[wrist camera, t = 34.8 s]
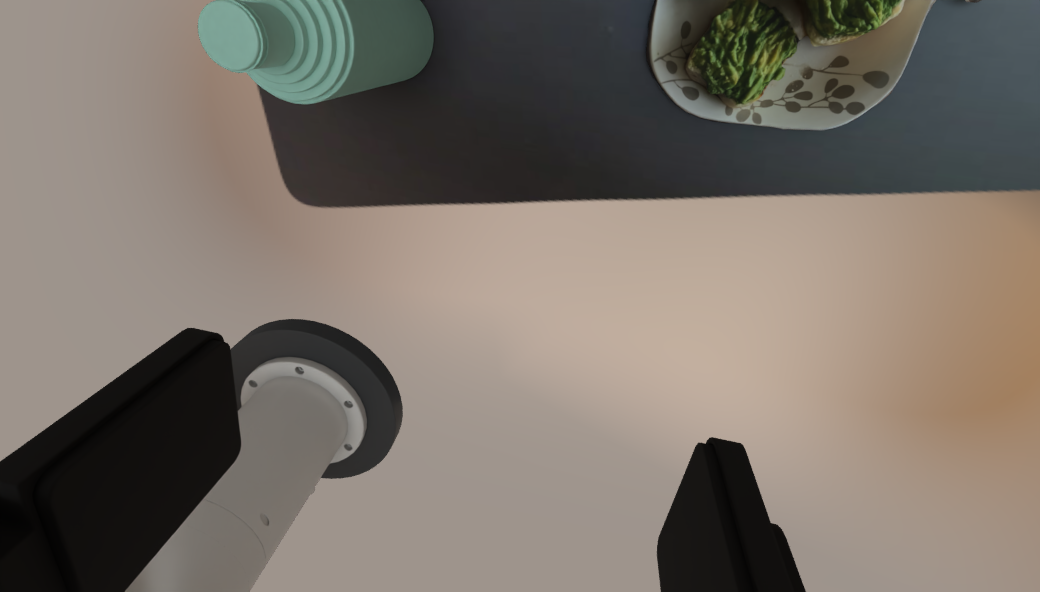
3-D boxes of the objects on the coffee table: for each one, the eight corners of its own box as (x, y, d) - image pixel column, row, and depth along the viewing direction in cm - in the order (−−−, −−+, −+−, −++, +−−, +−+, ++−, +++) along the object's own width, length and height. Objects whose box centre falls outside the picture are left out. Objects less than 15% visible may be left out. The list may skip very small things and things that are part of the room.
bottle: (430, 88, 40) (305, 131, 23) (347, 73, 40) (164, 104, 23) (437, -9, 37) (300, -43, 20) (348, -25, 37) (139, -71, 20)
